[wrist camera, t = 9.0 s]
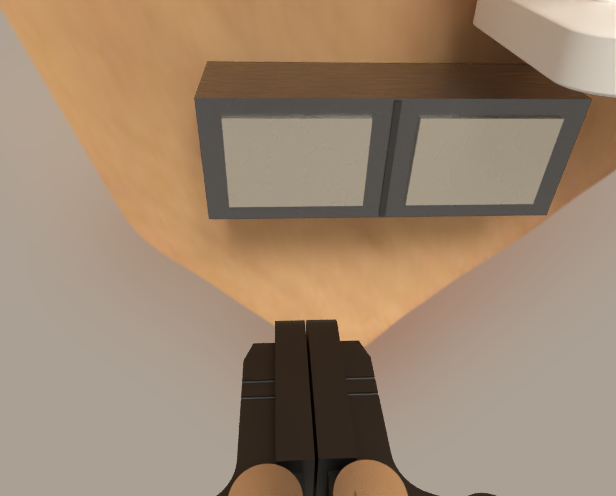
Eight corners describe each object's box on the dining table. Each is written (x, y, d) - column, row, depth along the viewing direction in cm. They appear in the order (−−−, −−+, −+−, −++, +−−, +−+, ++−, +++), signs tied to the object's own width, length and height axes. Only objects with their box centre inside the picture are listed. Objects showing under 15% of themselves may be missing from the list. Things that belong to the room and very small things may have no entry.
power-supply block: (207, 61, 24) (193, 99, 19) (540, 64, 25) (594, 100, 20) (218, 170, 27) (208, 221, 23) (507, 168, 28) (548, 217, 24)
